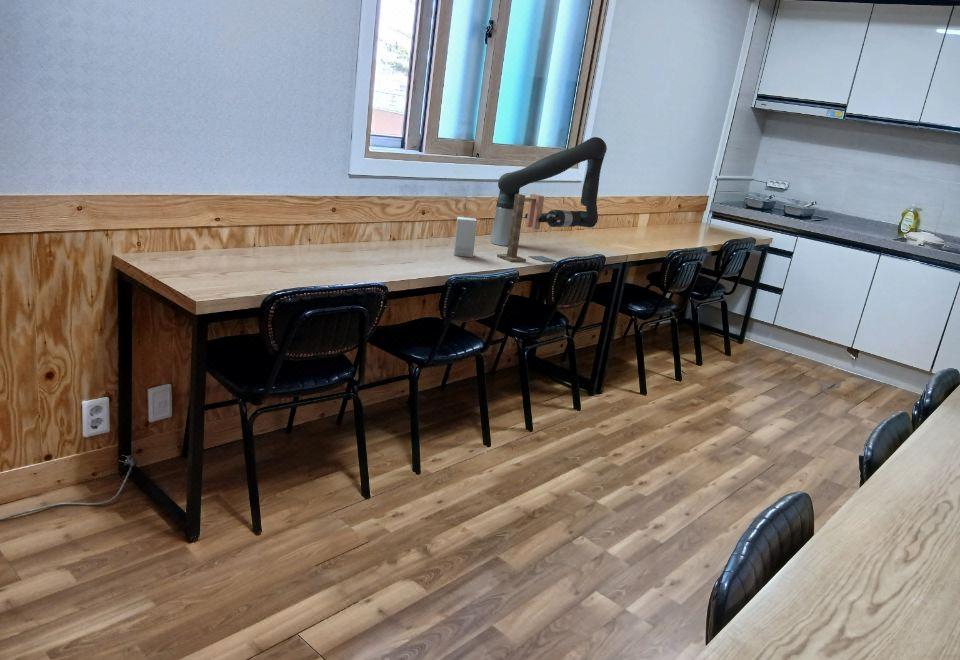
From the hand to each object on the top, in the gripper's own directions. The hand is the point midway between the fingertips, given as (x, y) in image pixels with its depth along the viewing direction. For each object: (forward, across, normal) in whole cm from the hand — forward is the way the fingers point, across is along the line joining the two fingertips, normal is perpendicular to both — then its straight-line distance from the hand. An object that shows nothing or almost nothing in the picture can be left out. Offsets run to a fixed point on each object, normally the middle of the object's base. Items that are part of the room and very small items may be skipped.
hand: (532, 217), depth 317 cm
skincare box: (+27, -9, +18) cm, 34 cm away
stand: (+4, 0, +18) cm, 18 cm away
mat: (-9, +1, +18) cm, 20 cm away
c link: (-1, 0, +4) cm, 5 cm away
